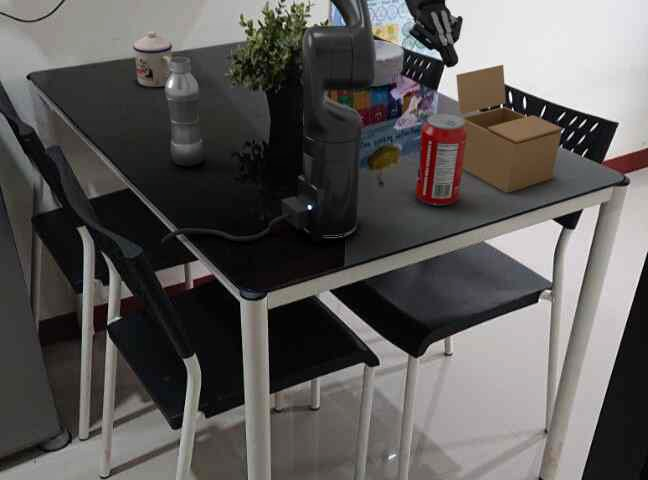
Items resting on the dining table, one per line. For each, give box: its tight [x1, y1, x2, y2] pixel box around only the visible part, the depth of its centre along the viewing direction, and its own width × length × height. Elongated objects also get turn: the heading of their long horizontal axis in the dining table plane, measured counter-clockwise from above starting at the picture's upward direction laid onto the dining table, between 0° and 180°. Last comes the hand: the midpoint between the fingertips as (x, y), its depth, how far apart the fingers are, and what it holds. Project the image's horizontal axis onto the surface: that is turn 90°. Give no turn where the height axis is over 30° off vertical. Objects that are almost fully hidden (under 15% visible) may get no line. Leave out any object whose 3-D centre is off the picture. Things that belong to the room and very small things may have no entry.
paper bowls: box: [370, 39, 405, 88], centre depth 192 cm, size 15×15×8 cm
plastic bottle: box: [164, 56, 205, 167], centre depth 147 cm, size 6×7×20 cm
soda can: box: [415, 113, 467, 207], centre depth 138 cm, size 8×8×15 cm
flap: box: [455, 64, 507, 115], centre depth 151 cm, size 7×12×1 cm
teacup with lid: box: [132, 31, 173, 88], centre depth 185 cm, size 12×9×12 cm
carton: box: [461, 106, 563, 194], centre depth 150 cm, size 15×12×10 cm
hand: (452, 65), depth 155 cm, fingers closed
